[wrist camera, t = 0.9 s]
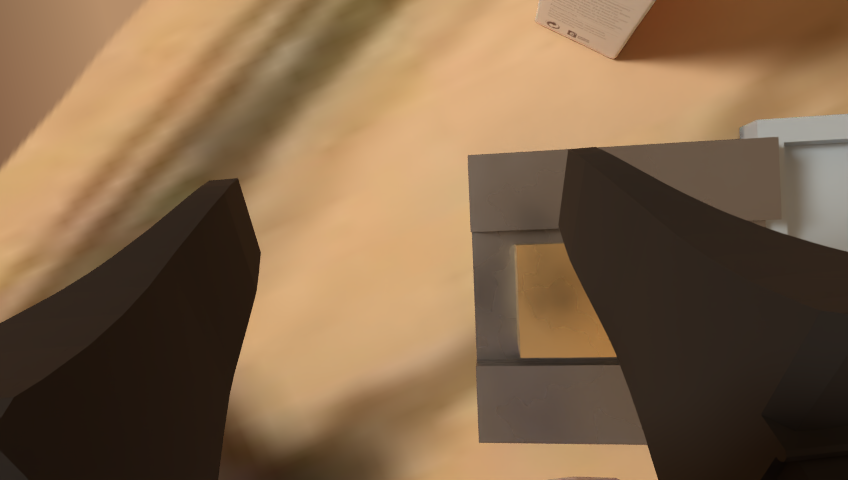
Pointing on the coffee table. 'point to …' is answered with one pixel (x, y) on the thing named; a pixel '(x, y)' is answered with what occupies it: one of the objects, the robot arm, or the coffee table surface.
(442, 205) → the coffee table surface
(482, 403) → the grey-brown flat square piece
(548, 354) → the block
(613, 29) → the skincare box
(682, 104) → the coffee table surface
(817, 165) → the tray
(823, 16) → the coffee table surface
